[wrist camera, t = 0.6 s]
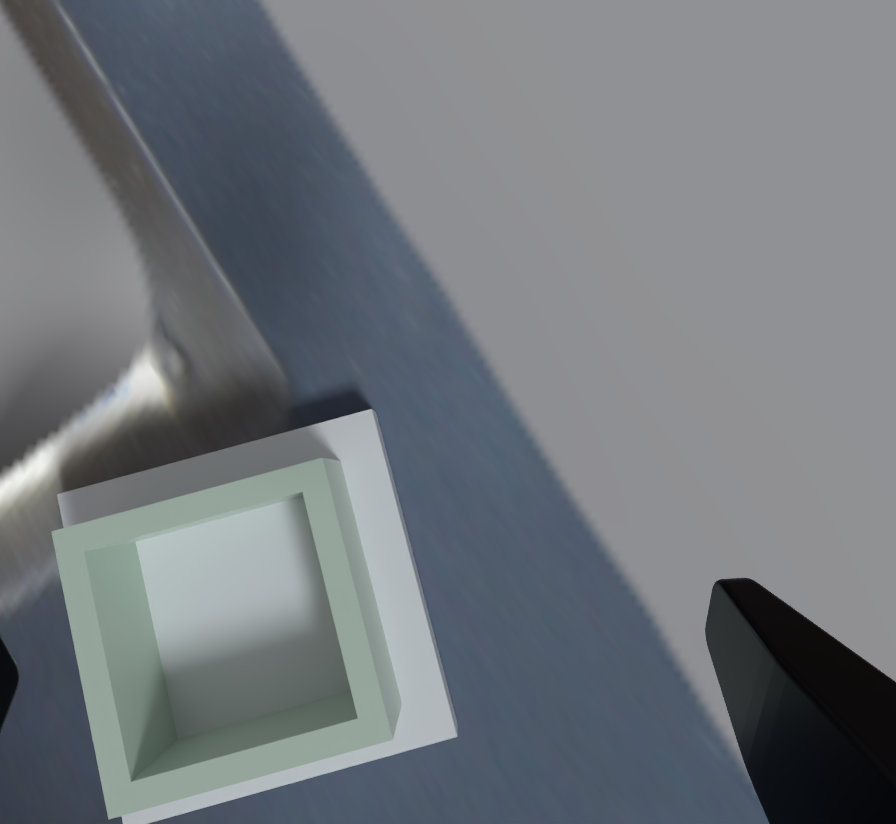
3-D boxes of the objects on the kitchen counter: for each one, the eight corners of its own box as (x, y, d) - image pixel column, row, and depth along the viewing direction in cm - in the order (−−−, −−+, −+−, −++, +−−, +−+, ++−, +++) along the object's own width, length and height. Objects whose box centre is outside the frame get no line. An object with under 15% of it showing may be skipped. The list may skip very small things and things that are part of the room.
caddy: (457, 722, 22) (457, 779, 18) (142, 810, 22) (67, 888, 18) (376, 412, 23) (358, 396, 19) (77, 493, 23) (-7, 495, 19)
